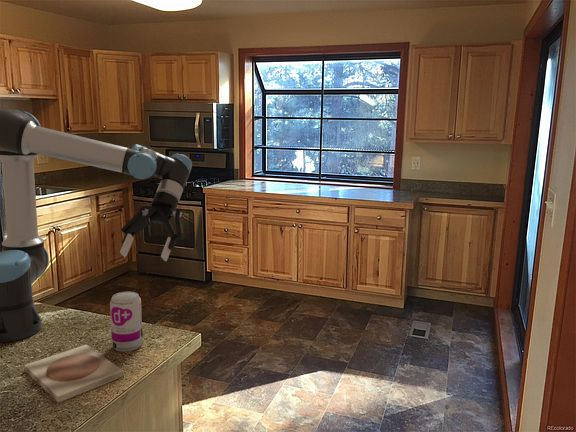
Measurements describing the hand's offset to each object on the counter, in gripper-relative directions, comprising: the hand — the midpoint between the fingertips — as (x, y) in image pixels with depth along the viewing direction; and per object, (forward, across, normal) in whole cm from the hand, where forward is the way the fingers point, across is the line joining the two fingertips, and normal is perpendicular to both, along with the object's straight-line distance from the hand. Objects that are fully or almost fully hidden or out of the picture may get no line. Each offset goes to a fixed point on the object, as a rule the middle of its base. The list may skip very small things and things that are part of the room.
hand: (142, 256), depth 140 cm
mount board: (+35, +4, +2) cm, 36 cm away
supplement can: (+24, 0, -10) cm, 26 cm away
